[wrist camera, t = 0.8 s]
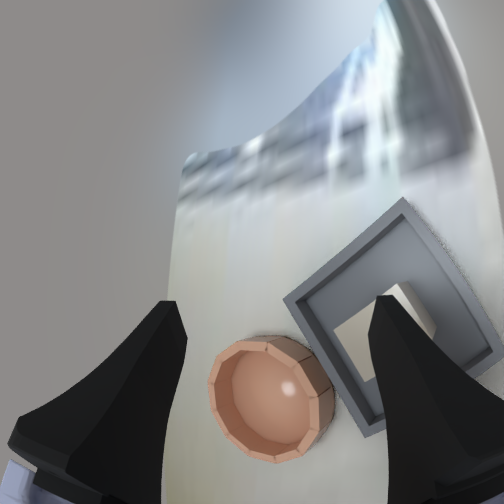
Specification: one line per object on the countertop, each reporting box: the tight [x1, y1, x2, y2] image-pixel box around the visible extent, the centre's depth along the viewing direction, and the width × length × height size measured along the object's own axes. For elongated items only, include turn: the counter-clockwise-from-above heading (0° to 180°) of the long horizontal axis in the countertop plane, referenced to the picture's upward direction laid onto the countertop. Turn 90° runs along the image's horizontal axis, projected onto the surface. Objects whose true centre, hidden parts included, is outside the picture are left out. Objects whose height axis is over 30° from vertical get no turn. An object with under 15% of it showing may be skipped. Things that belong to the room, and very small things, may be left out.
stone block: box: [333, 281, 437, 382], centre depth 19 cm, size 4×5×4 cm
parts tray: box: [283, 197, 504, 438], centre depth 20 cm, size 13×12×2 cm
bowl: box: [208, 336, 335, 463], centre depth 25 cm, size 12×12×3 cm
